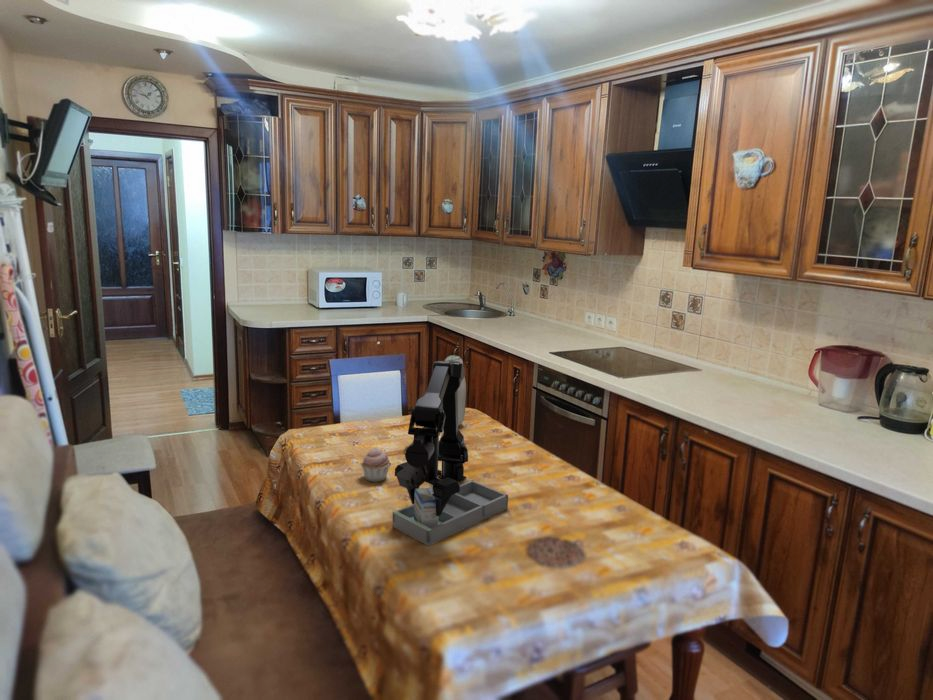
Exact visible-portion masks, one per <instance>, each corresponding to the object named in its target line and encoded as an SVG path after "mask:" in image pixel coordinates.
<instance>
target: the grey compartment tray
mask: <svg viewBox="0 0 933 700" xmlns="http://www.w3.org/2000/svg"><path fill="white" fill-rule="evenodd" d="M508 504H509V495H508V494H507V493H504V492H502V491H499V490H497V489H495V488H492V487H490V486H487V485H485V484H483V483H480V482H478V481H475V480H470V481H467V482H465V483H462V484H460V492H458V493H455V494H453V495H452V496H451V497H450V499H449V500H448V502H447V504H446V506H445V507H444V509H443V511H442V513H441V515H440V516H439V517H438V525H436V526H434V527H432V528H429V527H427V526H425V525H423V524H421V523H419V522H417V521H415V520H414V504H412V503H411V504H410V505H407V506H405V507H402V508H400V509H398V510H396V509H395V510H393V511H392V527H393V528H394V529H397V530H398V531H400V532H402V533H404V534H405V535H407V536H409V537H411V538H413V539H415V540H417V541H419V543H422V544H424V545H425V546H428V547H430V546H432V545H434V544H436V543H438V542H441V541H442V540H445V539H446V538H449V537H450V536H451V537H452V535H453V536H454V534H457V533H460V532H461V531H463V530H465V529H468V528H469V527H471V526H473V525H476V524H478V523H479V522H480V523H481V522H482V521H484V520H486V519H488V518H490V517H492V516H494V515H496V514H498V513H500V512H503V511H505V510H507V509H508V507H509V505H508Z"/></svg>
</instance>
